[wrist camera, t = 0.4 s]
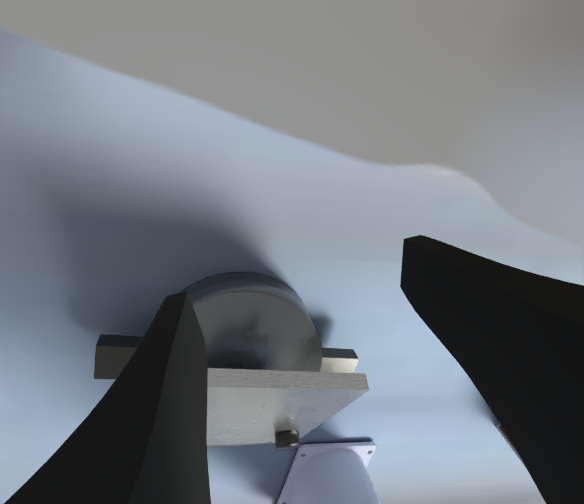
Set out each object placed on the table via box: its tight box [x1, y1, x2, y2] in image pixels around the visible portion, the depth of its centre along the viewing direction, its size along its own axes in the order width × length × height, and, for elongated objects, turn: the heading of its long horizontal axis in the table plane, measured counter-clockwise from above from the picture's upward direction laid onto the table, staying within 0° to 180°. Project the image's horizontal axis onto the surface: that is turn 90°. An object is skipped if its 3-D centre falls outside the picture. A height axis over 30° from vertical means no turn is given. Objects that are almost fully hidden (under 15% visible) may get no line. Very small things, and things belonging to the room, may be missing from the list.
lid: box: [207, 368, 369, 450], centre depth 19 cm, size 12×10×2 cm
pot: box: [94, 272, 359, 379], centre depth 23 cm, size 12×17×3 cm
